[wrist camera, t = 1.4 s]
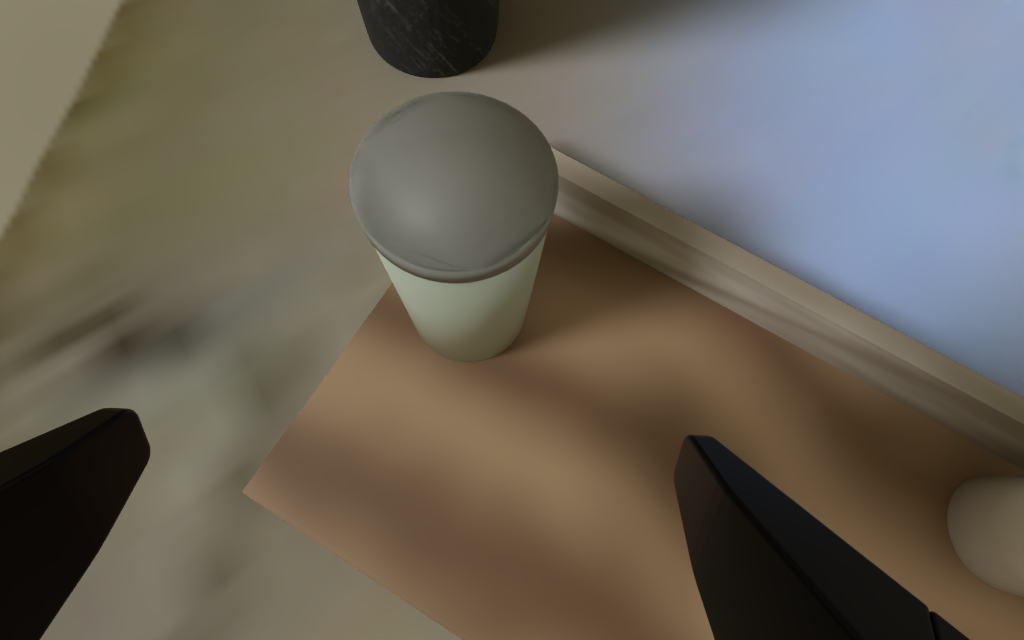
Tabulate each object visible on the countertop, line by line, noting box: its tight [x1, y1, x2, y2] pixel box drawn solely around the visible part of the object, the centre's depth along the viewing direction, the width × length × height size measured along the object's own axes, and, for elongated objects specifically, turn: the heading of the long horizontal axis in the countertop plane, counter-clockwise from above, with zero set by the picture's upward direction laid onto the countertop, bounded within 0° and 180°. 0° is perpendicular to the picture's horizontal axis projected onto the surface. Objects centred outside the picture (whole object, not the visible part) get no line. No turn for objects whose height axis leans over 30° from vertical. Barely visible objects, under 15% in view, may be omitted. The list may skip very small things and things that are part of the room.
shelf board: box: [242, 148, 1024, 640], centre depth 19 cm, size 18×30×4 cm, turn 60°
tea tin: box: [349, 92, 559, 362], centre depth 17 cm, size 5×5×10 cm
